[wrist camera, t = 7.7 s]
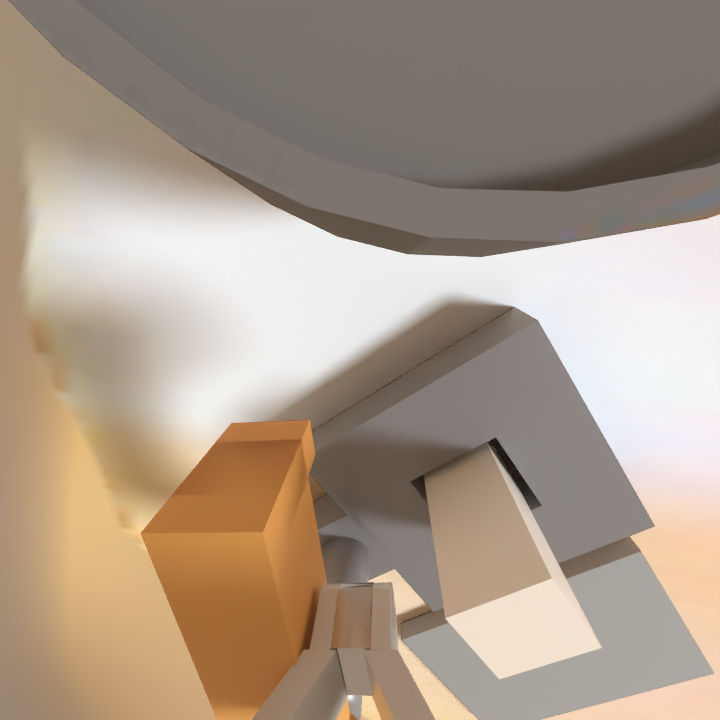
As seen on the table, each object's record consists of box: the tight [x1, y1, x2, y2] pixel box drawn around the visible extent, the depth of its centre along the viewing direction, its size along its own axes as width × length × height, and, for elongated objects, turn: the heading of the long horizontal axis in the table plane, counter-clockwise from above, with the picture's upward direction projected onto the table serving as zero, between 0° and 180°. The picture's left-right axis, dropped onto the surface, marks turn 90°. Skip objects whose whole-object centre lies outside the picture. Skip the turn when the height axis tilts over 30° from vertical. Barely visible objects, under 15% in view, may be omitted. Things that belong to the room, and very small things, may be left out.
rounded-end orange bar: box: [141, 420, 358, 720], centre depth 11 cm, size 3×15×4 cm, turn 6°
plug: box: [424, 441, 602, 679], centre depth 17 cm, size 4×4×10 cm
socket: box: [310, 307, 654, 720], centre depth 17 cm, size 14×18×10 cm
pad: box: [401, 536, 714, 720], centre depth 26 cm, size 14×18×1 cm
